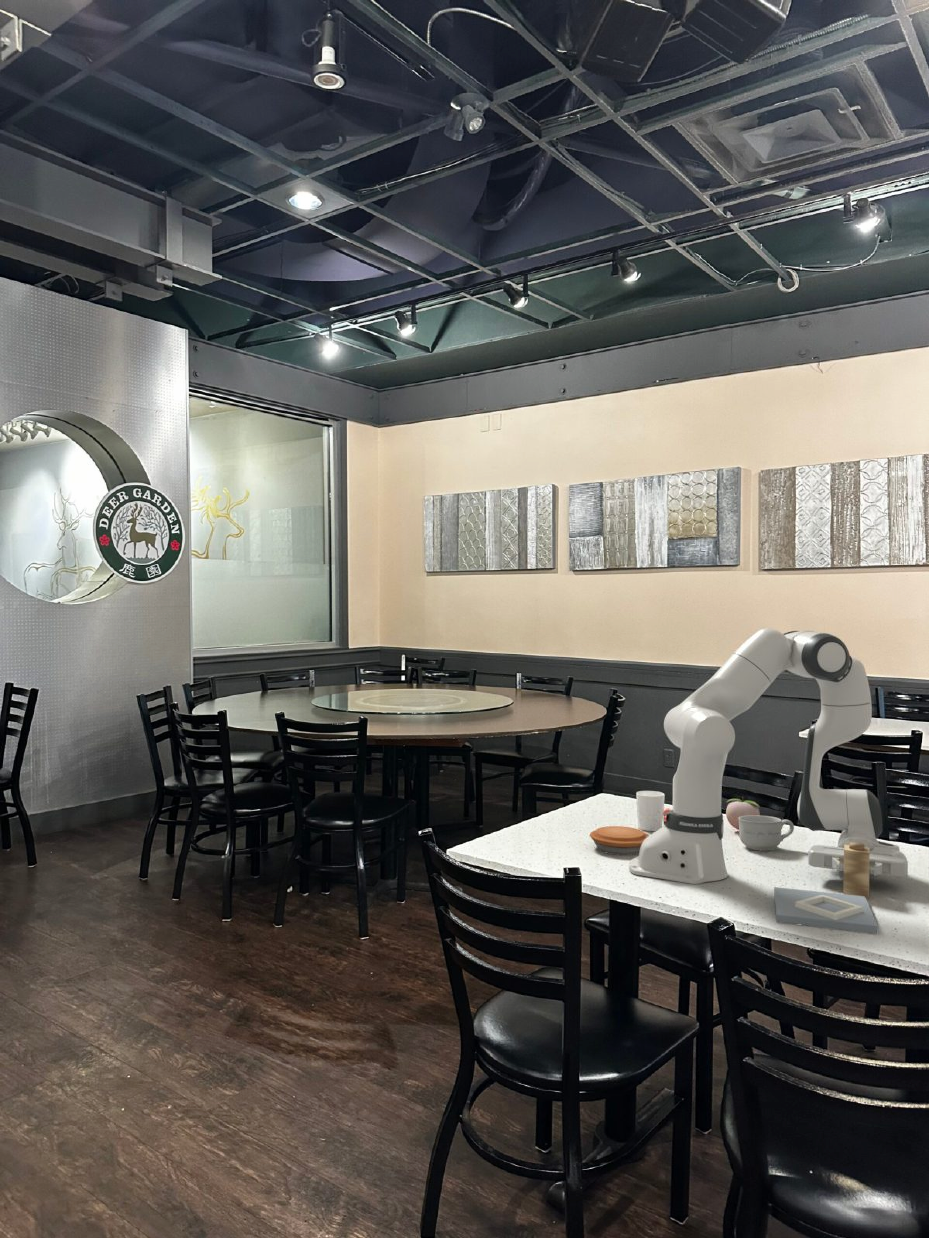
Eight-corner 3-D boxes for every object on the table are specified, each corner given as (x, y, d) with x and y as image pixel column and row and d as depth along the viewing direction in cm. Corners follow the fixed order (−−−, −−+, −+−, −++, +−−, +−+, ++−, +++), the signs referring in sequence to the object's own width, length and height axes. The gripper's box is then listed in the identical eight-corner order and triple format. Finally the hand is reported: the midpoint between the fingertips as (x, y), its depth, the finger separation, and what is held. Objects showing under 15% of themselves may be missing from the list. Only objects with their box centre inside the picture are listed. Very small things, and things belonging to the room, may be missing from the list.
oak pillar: (843, 895, 184) (843, 845, 184) (844, 889, 189) (844, 839, 189) (869, 899, 182) (869, 848, 182) (869, 892, 186) (869, 842, 186)
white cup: (644, 823, 248) (644, 789, 248) (669, 828, 243) (669, 793, 243) (631, 828, 242) (631, 793, 242) (656, 833, 237) (656, 797, 237)
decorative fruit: (723, 833, 238) (723, 797, 238) (727, 827, 245) (727, 792, 245) (758, 837, 234) (758, 801, 234) (761, 830, 241) (761, 795, 241)
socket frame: (795, 906, 172) (795, 901, 172) (821, 899, 177) (821, 894, 177) (835, 920, 165) (835, 914, 165) (862, 911, 170) (862, 906, 170)
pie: (577, 848, 221) (577, 829, 221) (612, 838, 231) (612, 820, 231) (627, 861, 210) (627, 841, 210) (662, 849, 220) (662, 830, 220)
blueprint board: (776, 922, 167) (776, 914, 167) (774, 893, 185) (774, 886, 185) (877, 933, 162) (877, 925, 162) (864, 903, 179) (865, 896, 179)
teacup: (739, 852, 219) (740, 820, 219) (736, 841, 229) (736, 811, 229) (797, 856, 215) (797, 824, 215) (791, 845, 226) (791, 815, 226)
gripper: (809, 835, 201) (805, 849, 189) (906, 846, 193) (909, 861, 180) (809, 862, 201) (804, 877, 189) (906, 874, 193) (908, 891, 180)
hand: (856, 869), depth 184 cm, fingers closed on oak pillar, 5 cm apart
